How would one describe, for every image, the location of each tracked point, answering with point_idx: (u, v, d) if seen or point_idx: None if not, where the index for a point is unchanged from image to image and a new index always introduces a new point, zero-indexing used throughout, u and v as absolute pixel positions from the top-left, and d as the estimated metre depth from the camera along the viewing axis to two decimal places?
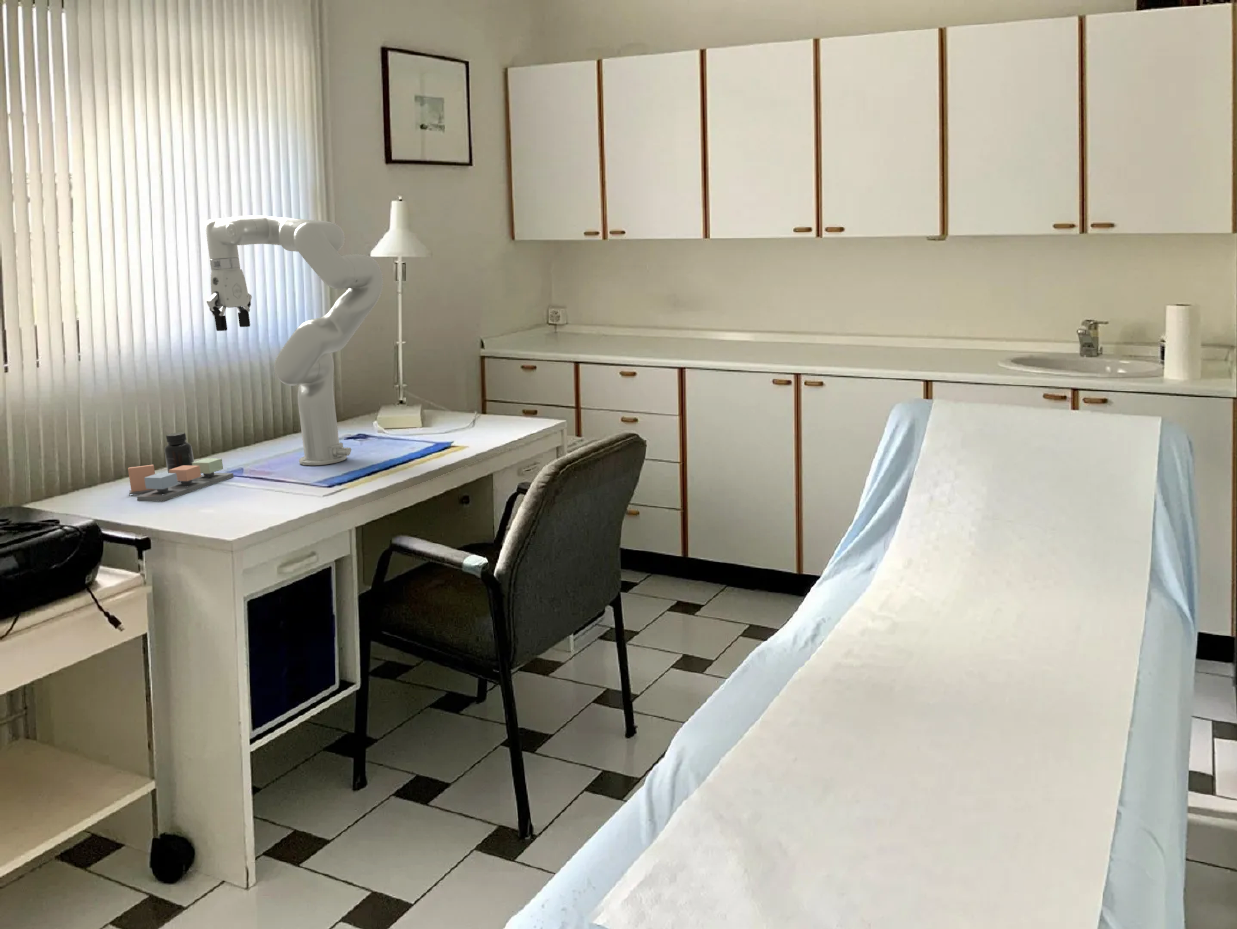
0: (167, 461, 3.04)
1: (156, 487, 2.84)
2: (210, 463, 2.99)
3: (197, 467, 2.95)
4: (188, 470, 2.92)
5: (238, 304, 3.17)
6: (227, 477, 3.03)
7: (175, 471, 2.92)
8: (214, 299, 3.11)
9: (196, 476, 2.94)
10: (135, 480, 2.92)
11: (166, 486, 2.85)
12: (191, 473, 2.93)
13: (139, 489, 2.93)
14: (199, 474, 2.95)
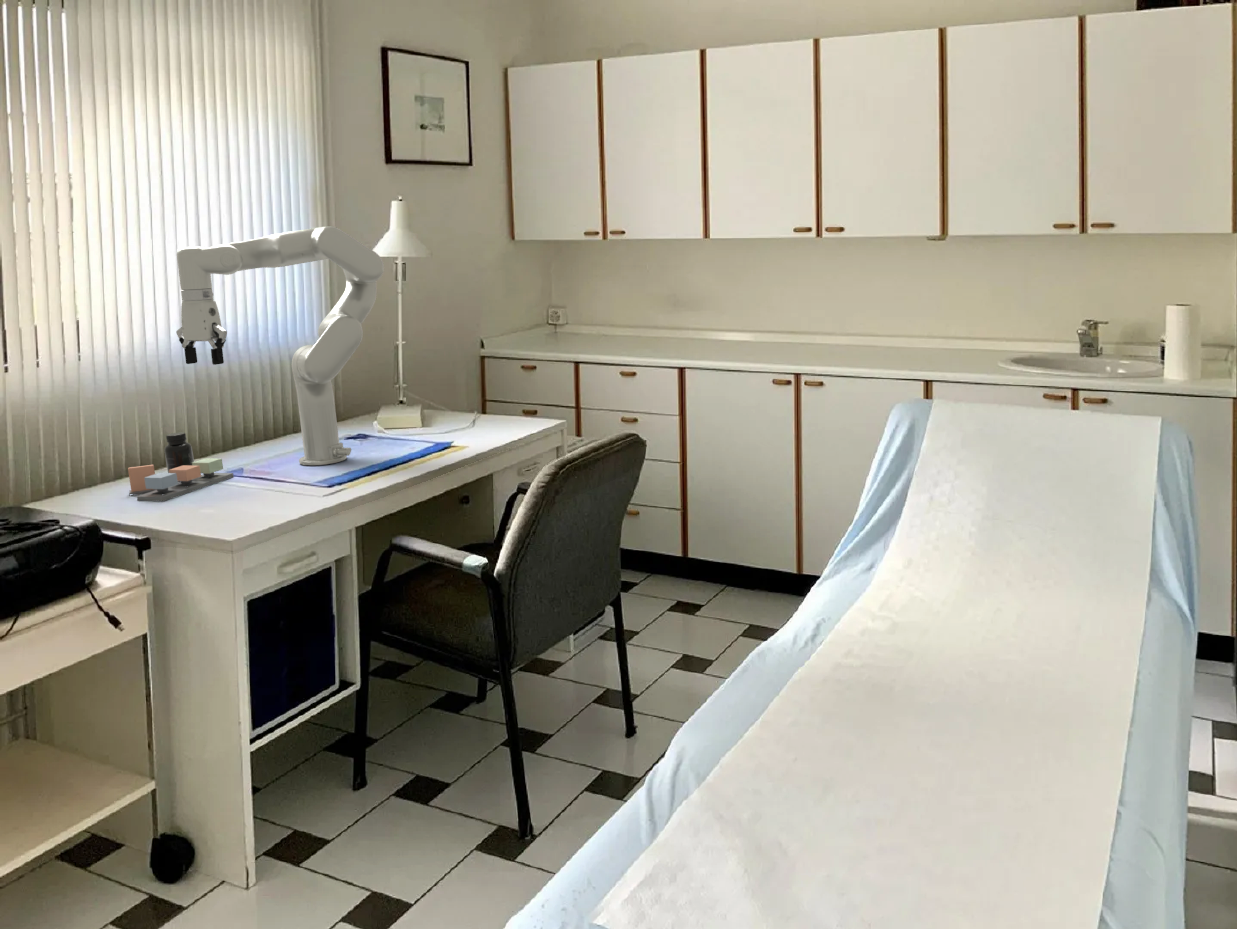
0: (167, 461, 3.04)
1: (156, 487, 2.84)
2: (210, 463, 2.99)
3: (197, 467, 2.95)
4: (188, 470, 2.92)
5: None
6: (227, 477, 3.03)
7: (175, 471, 2.92)
8: None
9: (196, 476, 2.94)
10: (135, 480, 2.92)
11: (166, 486, 2.85)
12: (191, 473, 2.93)
13: (139, 489, 2.93)
14: (199, 474, 2.95)
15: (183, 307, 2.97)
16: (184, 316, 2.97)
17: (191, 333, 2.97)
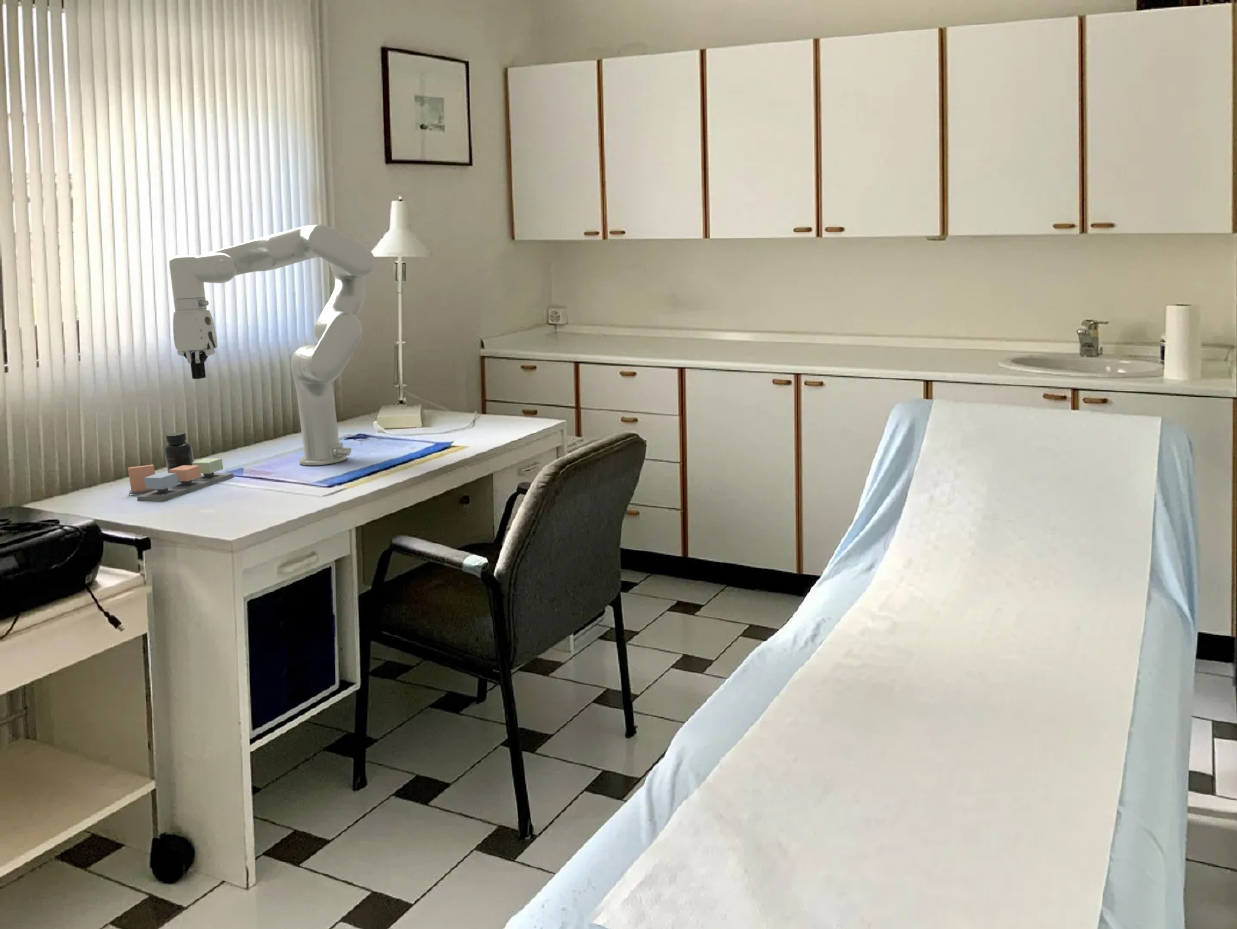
0: (167, 461, 3.04)
1: (156, 487, 2.84)
2: (210, 463, 2.99)
3: (197, 467, 2.95)
4: (188, 470, 2.92)
5: None
6: (227, 477, 3.03)
7: (175, 471, 2.92)
8: None
9: (196, 476, 2.94)
10: (135, 480, 2.92)
11: (166, 486, 2.85)
12: (191, 473, 2.93)
13: (139, 489, 2.93)
14: (199, 474, 2.95)
15: (176, 316, 2.92)
16: (177, 326, 2.93)
17: (185, 343, 2.93)
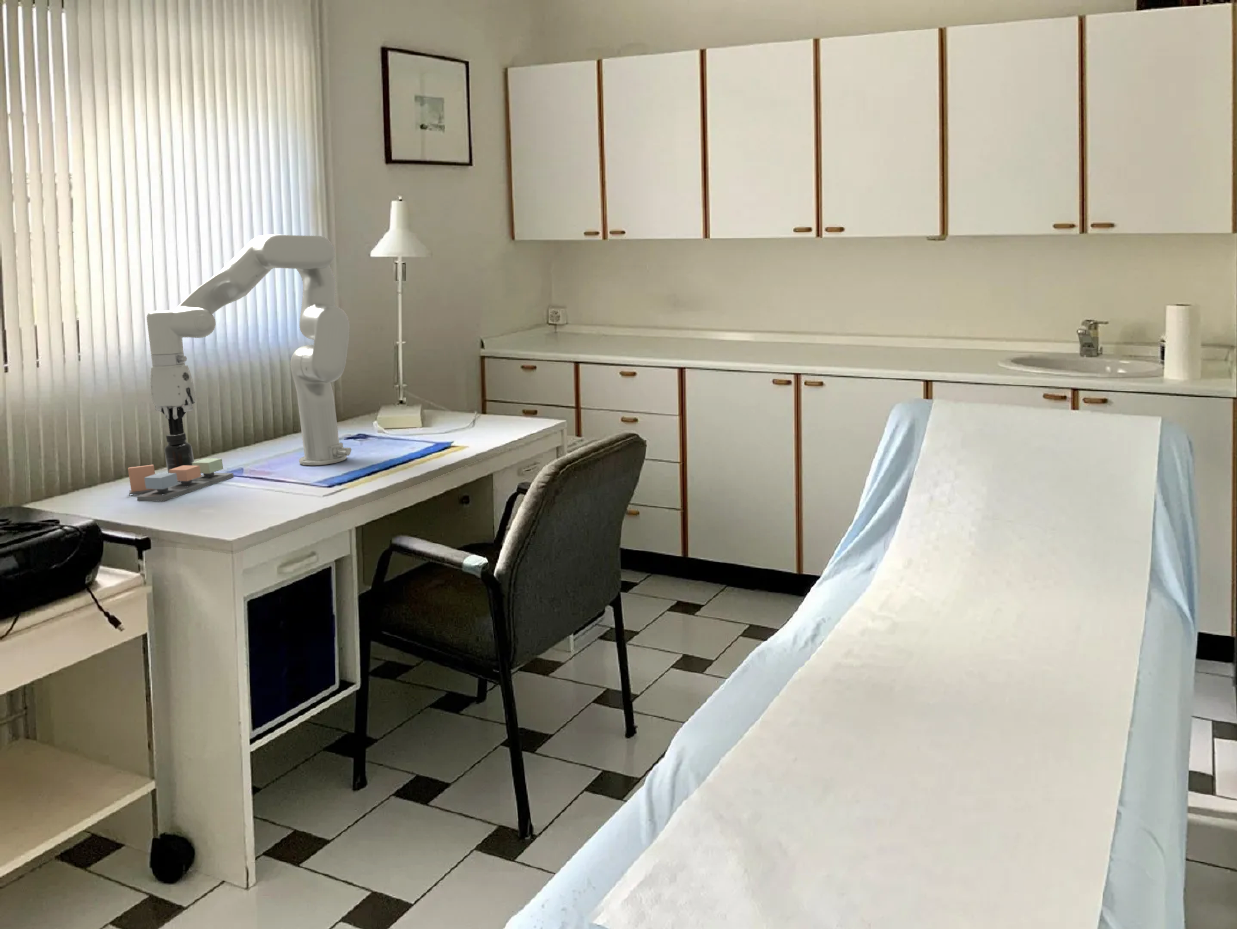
0: (167, 461, 3.04)
1: (156, 487, 2.84)
2: (210, 463, 2.99)
3: (197, 467, 2.95)
4: (188, 470, 2.92)
5: None
6: (227, 477, 3.03)
7: (175, 471, 2.92)
8: None
9: (196, 476, 2.94)
10: (135, 480, 2.92)
11: (166, 486, 2.85)
12: (191, 473, 2.93)
13: (139, 489, 2.93)
14: (199, 474, 2.95)
15: (153, 372, 2.88)
16: (154, 381, 2.88)
17: (162, 399, 2.88)
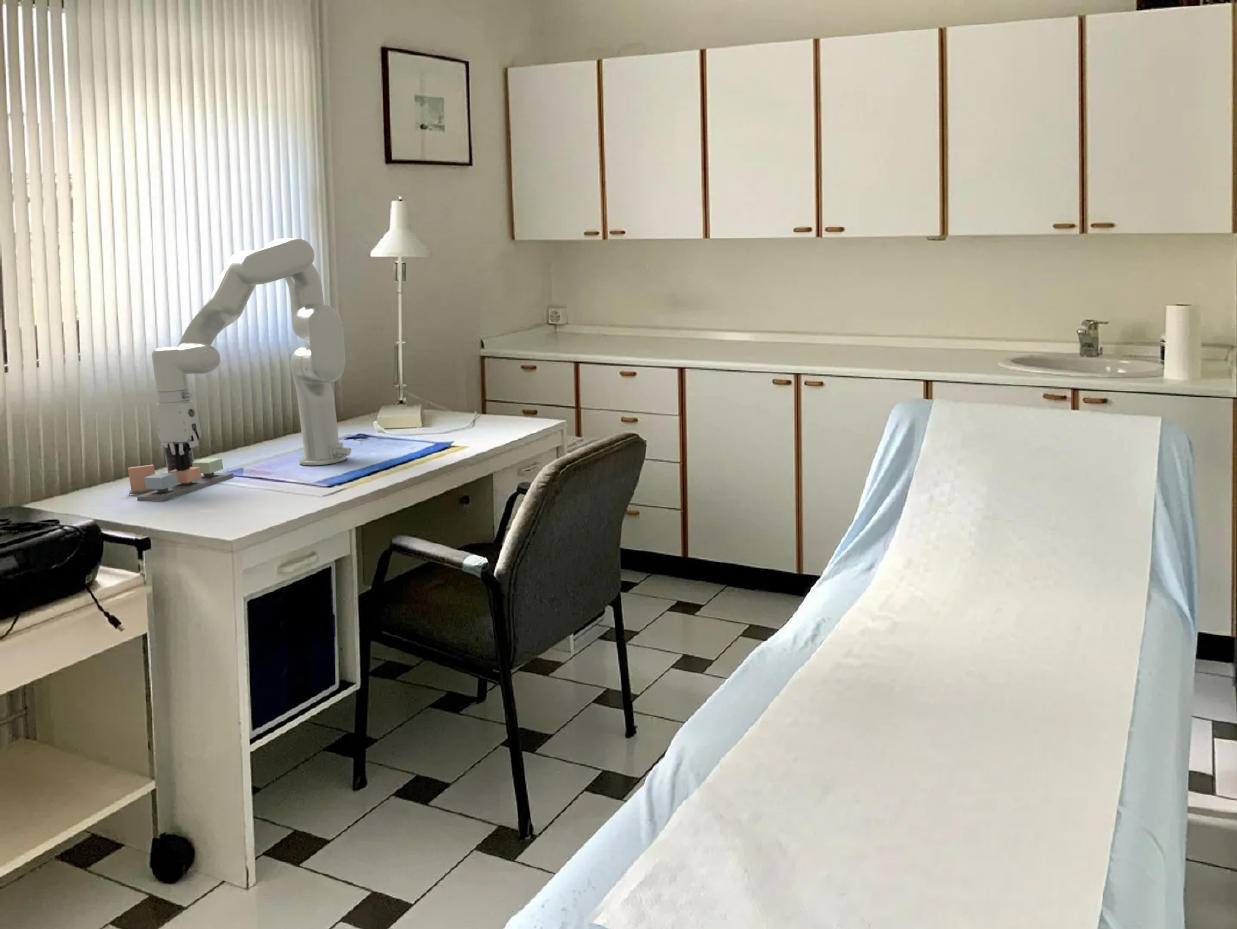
0: (167, 461, 3.04)
1: (156, 487, 2.84)
2: (210, 463, 2.99)
3: (197, 469, 2.95)
4: (188, 472, 2.92)
5: None
6: (227, 477, 3.03)
7: None
8: None
9: (196, 478, 2.94)
10: (135, 480, 2.92)
11: (166, 486, 2.85)
12: (191, 475, 2.93)
13: (139, 489, 2.93)
14: (199, 476, 2.95)
15: (159, 409, 2.90)
16: (160, 418, 2.90)
17: (168, 435, 2.90)
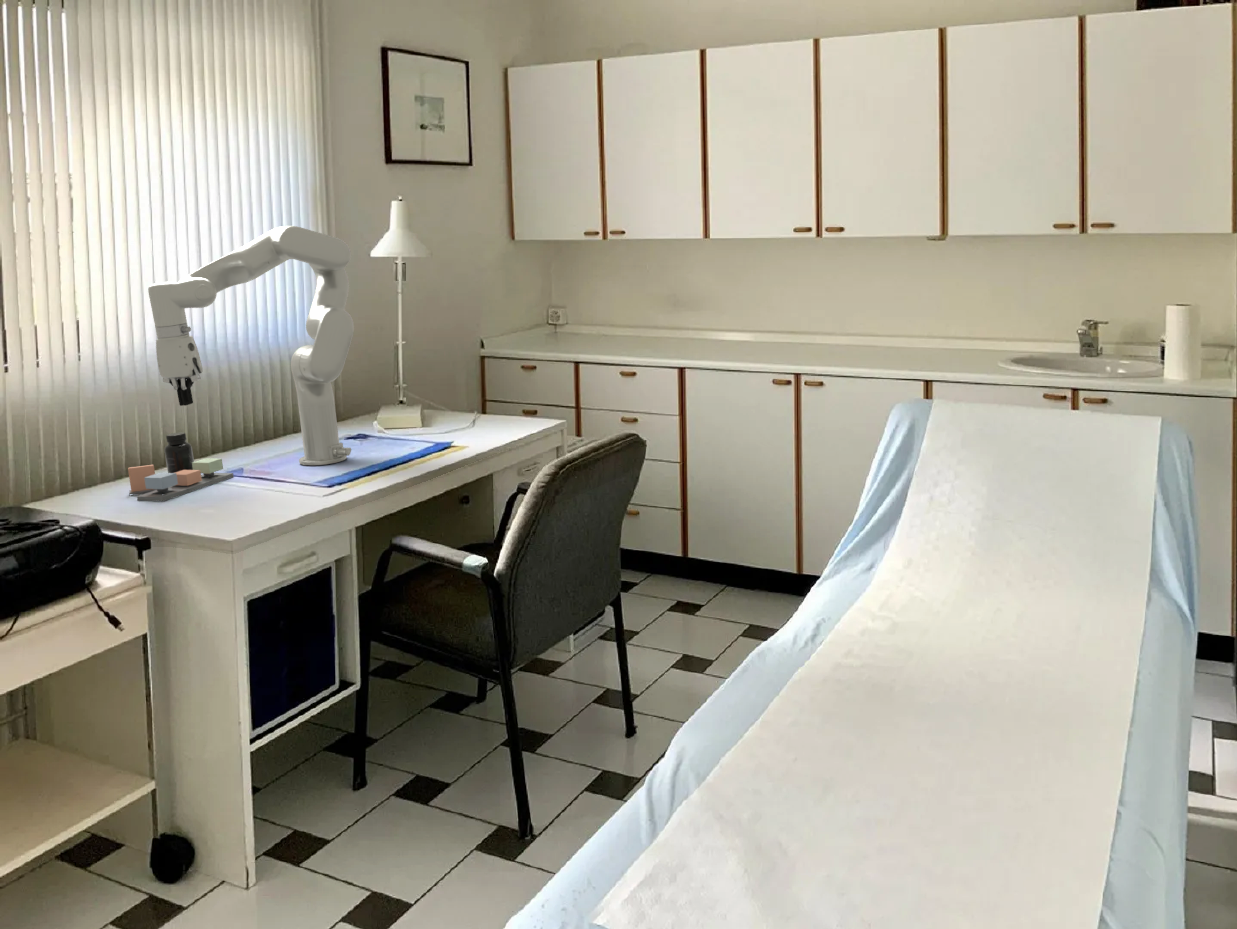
0: (167, 461, 3.04)
1: (156, 487, 2.84)
2: (210, 463, 2.99)
3: (198, 471, 2.95)
4: (189, 475, 2.92)
5: None
6: (227, 477, 3.03)
7: None
8: None
9: (197, 480, 2.95)
10: (135, 480, 2.92)
11: (166, 486, 2.85)
12: (191, 477, 2.93)
13: (139, 489, 2.93)
14: (200, 478, 2.96)
15: (159, 344, 2.90)
16: (160, 354, 2.91)
17: (170, 370, 2.91)
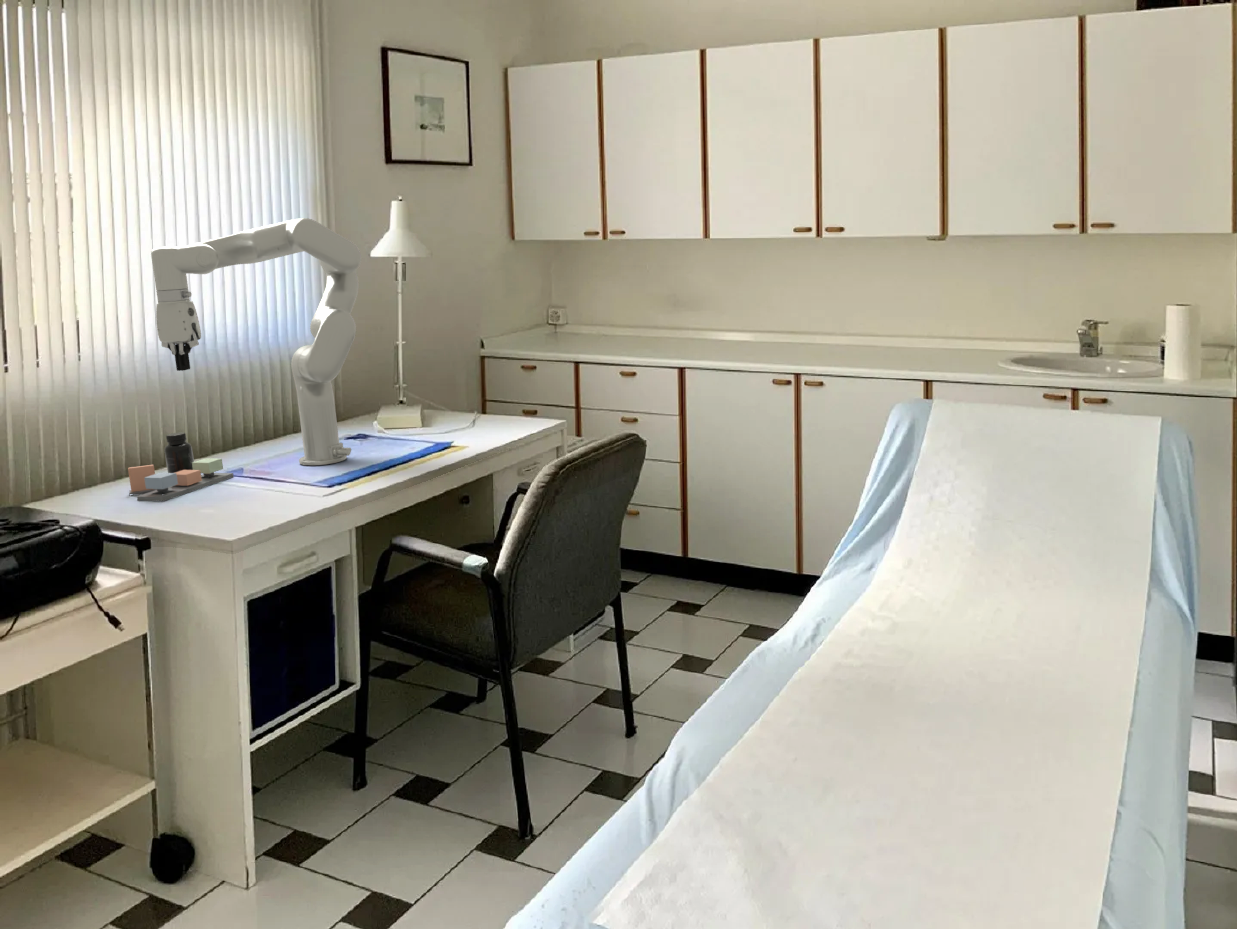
0: (167, 461, 3.04)
1: (156, 487, 2.84)
2: (210, 463, 2.99)
3: (198, 471, 2.95)
4: (189, 475, 2.92)
5: None
6: (227, 477, 3.03)
7: None
8: None
9: (197, 480, 2.95)
10: (135, 480, 2.92)
11: (166, 486, 2.85)
12: (191, 477, 2.93)
13: (139, 489, 2.93)
14: (200, 478, 2.96)
15: (159, 308, 2.92)
16: (160, 318, 2.92)
17: (169, 334, 2.93)
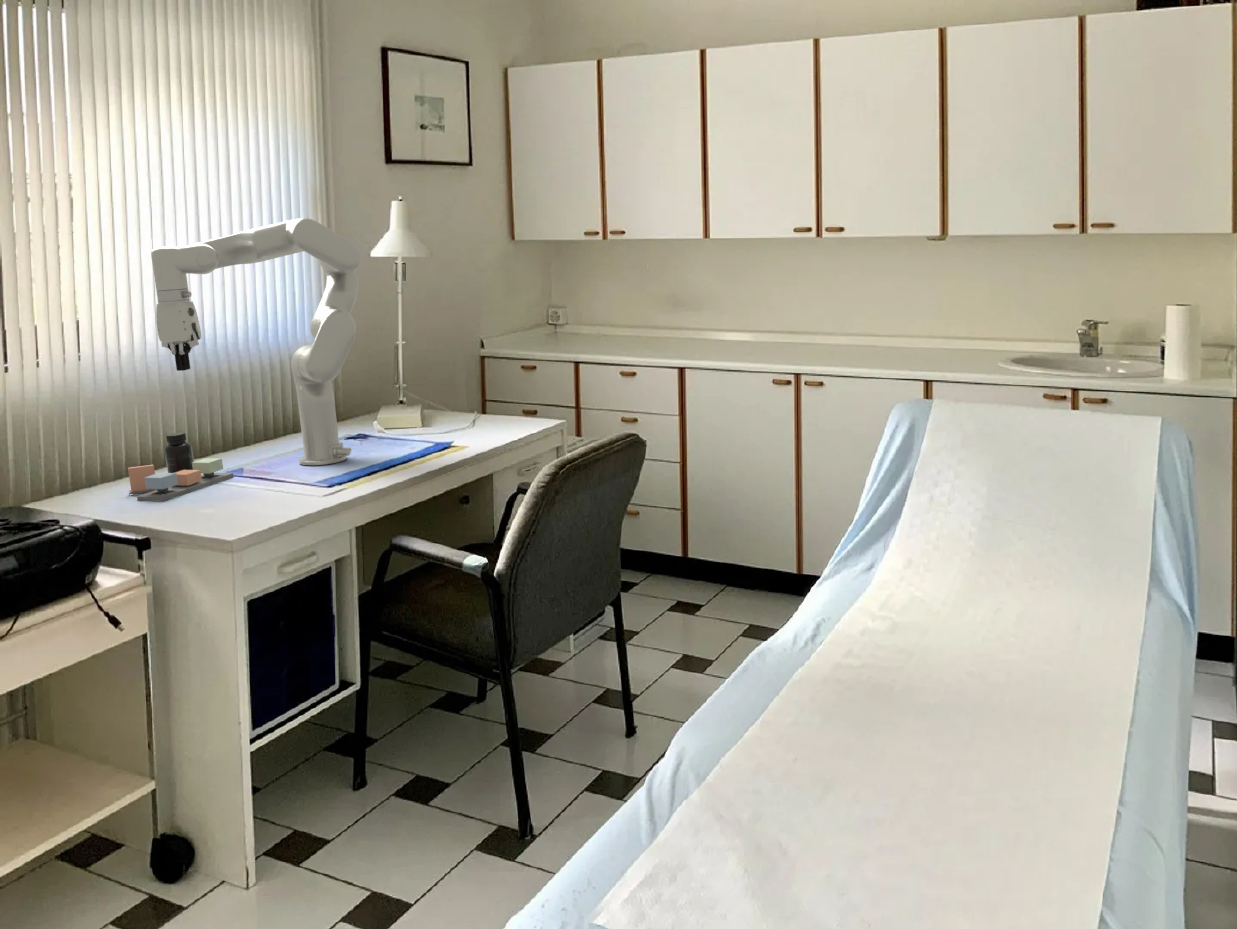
0: (167, 461, 3.04)
1: (156, 487, 2.84)
2: (210, 463, 2.99)
3: (198, 471, 2.95)
4: (189, 475, 2.92)
5: None
6: (227, 477, 3.03)
7: None
8: None
9: (197, 480, 2.95)
10: (135, 480, 2.92)
11: (166, 486, 2.85)
12: (191, 477, 2.93)
13: (139, 489, 2.93)
14: (200, 478, 2.96)
15: (159, 308, 2.92)
16: (160, 318, 2.92)
17: (168, 334, 2.93)
